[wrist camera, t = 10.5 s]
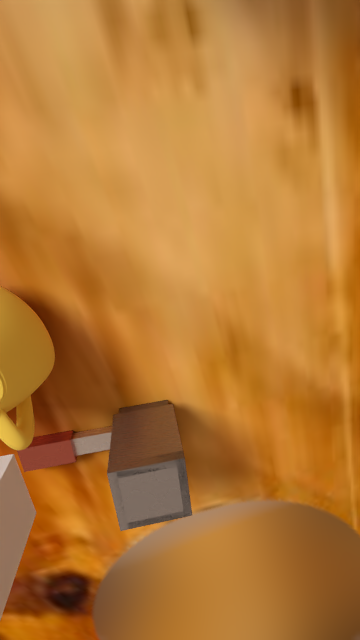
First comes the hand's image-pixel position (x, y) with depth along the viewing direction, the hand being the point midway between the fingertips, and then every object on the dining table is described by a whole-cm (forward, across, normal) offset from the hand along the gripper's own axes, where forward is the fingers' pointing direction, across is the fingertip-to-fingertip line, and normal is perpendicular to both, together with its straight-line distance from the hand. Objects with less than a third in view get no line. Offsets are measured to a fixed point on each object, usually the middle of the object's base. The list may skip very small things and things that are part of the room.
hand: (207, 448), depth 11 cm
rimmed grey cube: (+22, -4, -17) cm, 28 cm away
